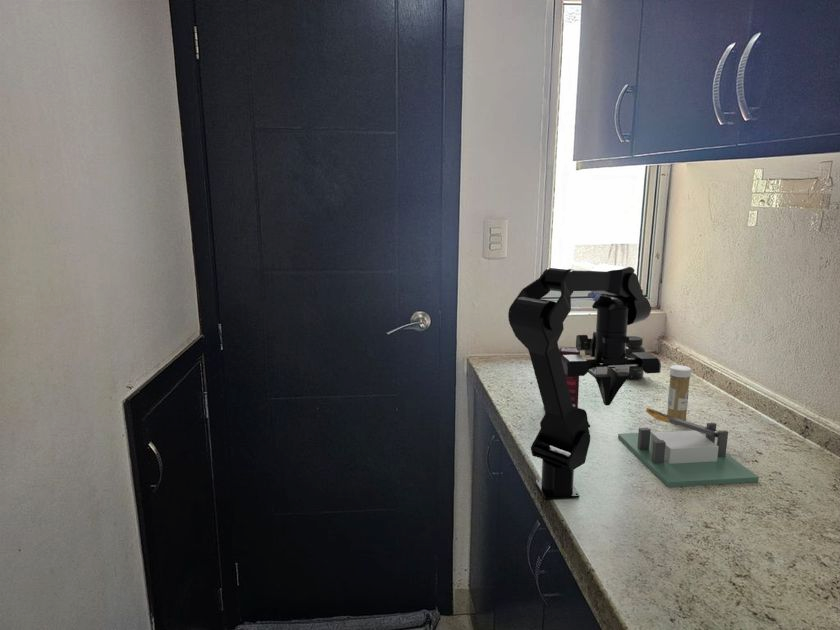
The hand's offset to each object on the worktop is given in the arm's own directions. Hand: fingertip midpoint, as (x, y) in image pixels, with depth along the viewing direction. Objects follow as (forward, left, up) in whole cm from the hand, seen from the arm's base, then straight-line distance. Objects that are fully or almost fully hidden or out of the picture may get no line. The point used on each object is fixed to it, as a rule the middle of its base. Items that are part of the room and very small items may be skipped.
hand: (606, 404), depth 115 cm
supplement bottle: (+52, -30, -13) cm, 61 cm away
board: (0, -17, -12) cm, 21 cm away
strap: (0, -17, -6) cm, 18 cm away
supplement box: (+30, -1, -13) cm, 33 cm away
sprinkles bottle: (+19, -26, -13) cm, 35 cm away
